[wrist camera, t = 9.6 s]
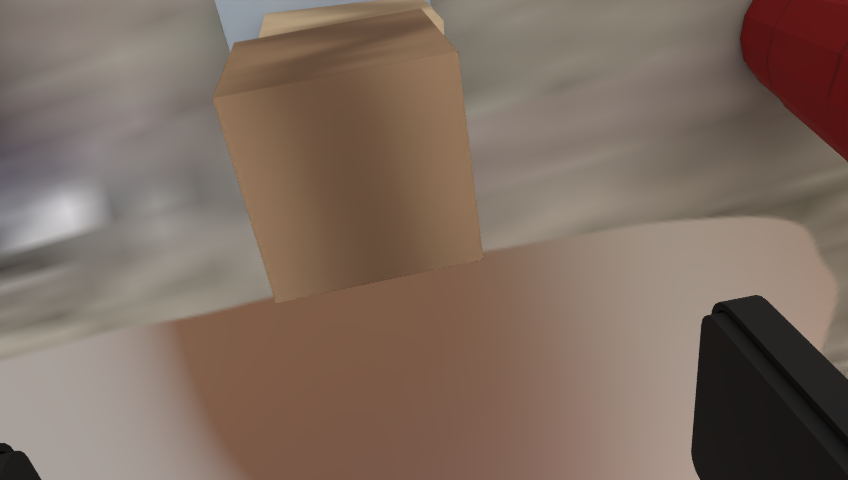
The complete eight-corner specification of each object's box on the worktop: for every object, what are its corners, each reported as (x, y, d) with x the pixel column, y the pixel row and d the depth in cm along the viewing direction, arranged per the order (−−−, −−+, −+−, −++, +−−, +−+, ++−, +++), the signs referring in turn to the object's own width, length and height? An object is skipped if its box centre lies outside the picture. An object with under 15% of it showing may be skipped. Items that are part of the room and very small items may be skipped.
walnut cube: (420, 8, 22) (457, 51, 17) (445, 177, 25) (482, 259, 20) (234, 42, 22) (212, 98, 16) (281, 210, 24) (275, 303, 19)
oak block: (420, -5, 27) (443, 20, 22) (433, 140, 29) (455, 188, 25) (264, 13, 26) (257, 44, 22) (293, 159, 29) (291, 212, 25)
